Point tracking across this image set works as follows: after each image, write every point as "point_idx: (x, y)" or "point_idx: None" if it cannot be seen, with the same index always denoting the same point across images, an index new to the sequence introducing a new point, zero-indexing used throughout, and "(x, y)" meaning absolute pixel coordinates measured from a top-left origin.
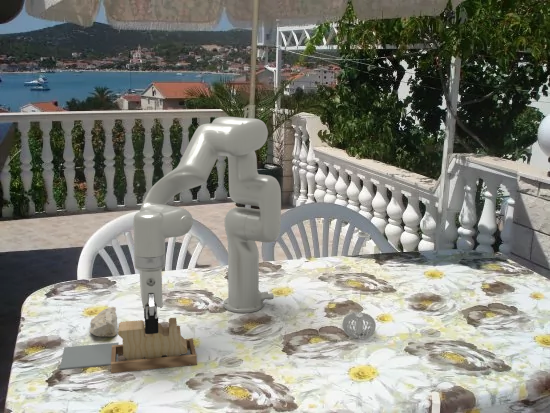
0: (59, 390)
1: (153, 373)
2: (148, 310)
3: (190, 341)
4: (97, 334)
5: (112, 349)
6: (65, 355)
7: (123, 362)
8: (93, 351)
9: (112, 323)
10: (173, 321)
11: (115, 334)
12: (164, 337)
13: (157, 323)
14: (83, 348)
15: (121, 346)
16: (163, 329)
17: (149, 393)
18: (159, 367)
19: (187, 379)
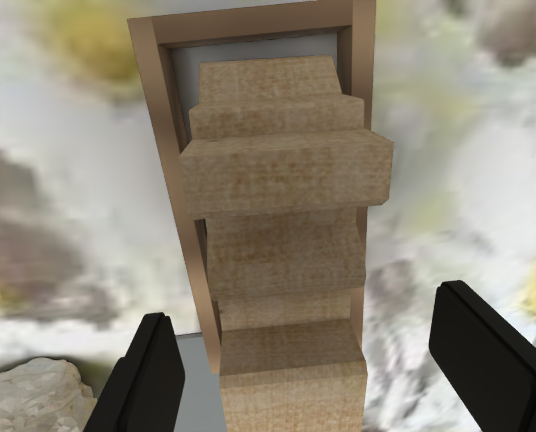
0: (412, 415)
1: (388, 205)
2: (164, 420)
3: (174, 35)
4: None
5: None
6: None
7: (360, 322)
8: (205, 396)
9: (47, 417)
10: (272, 179)
11: (66, 364)
12: (353, 212)
13: (515, 338)
14: (183, 421)
15: (220, 345)
16: (247, 229)
17: (526, 207)
18: None
19: (483, 61)
